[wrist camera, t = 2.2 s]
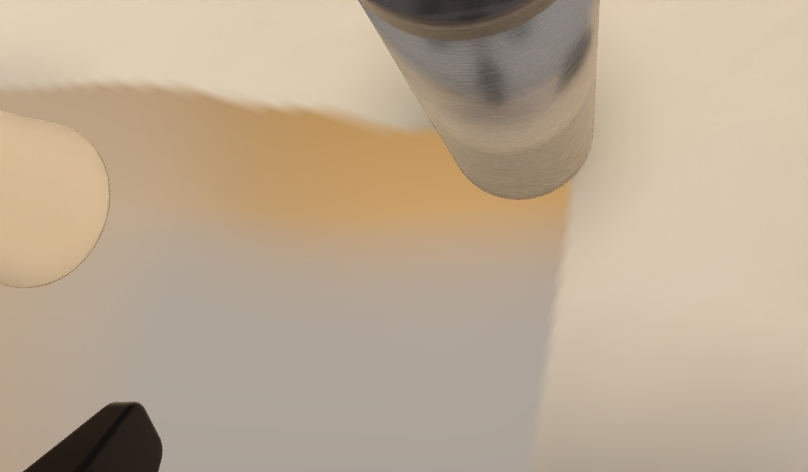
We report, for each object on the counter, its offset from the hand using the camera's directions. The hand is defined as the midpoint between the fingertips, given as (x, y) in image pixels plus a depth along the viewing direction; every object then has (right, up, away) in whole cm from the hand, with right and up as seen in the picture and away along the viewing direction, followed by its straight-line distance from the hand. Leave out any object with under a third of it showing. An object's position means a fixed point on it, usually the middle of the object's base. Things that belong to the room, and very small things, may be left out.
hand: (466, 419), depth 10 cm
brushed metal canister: (+3, +6, +14) cm, 16 cm away
